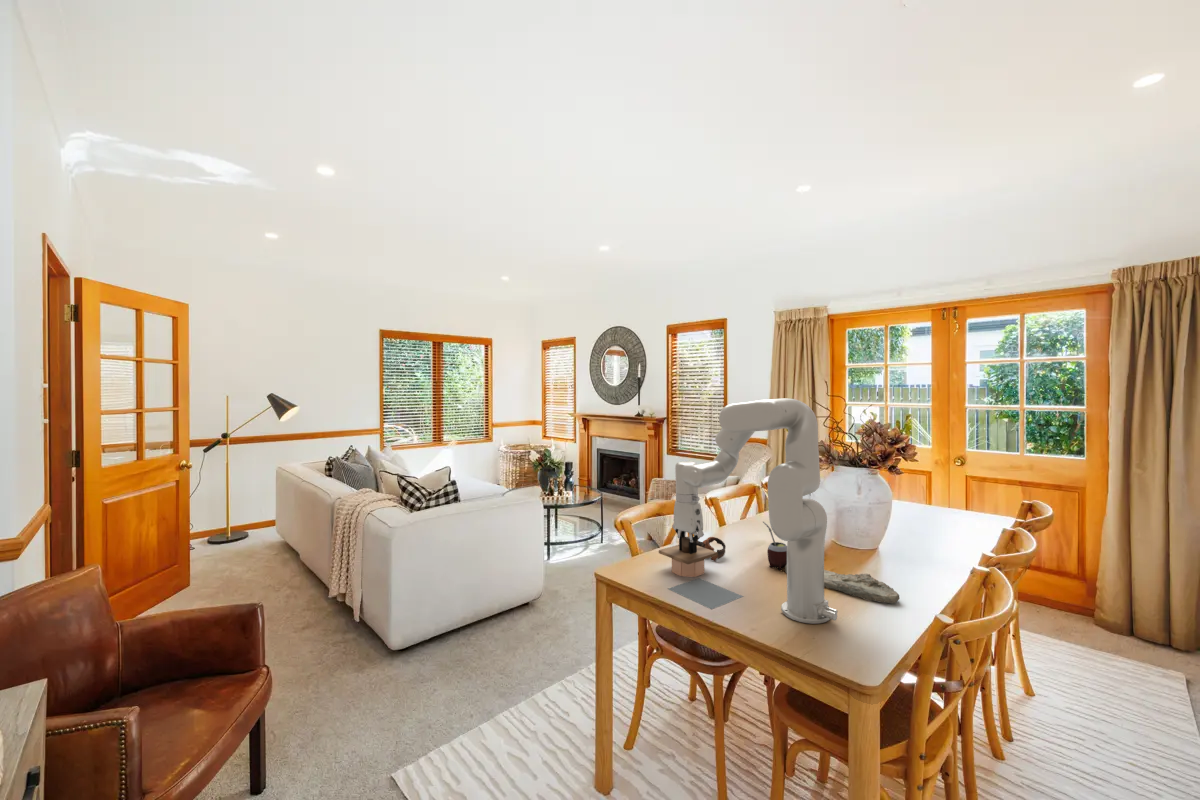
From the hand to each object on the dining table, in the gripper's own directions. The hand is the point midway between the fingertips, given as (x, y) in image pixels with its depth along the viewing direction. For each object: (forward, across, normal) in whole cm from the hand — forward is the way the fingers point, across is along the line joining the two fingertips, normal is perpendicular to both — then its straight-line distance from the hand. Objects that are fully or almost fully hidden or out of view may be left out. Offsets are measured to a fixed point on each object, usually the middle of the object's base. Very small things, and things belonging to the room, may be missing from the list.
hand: (687, 550), depth 169 cm
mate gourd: (+7, -16, -27) cm, 32 cm away
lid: (+1, 0, 0) cm, 1 cm away
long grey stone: (+8, -37, -28) cm, 47 cm away
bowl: (+7, 0, 0) cm, 7 cm away
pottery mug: (+7, +6, -16) cm, 19 cm away
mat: (+7, -16, +9) cm, 20 cm away
